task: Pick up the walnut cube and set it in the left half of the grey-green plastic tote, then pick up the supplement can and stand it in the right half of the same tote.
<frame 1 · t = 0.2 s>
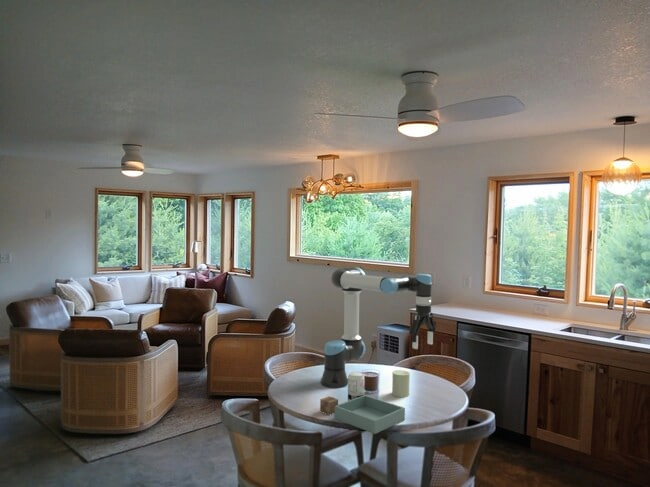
hand: (422, 346, 243), 28 cm above the table, fingers open, 13 cm apart
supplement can: (355, 404, 238), on the table
walnut cube: (329, 411, 227), on the table
tote: (369, 419, 219), on the table
can: (400, 394, 253), on the table
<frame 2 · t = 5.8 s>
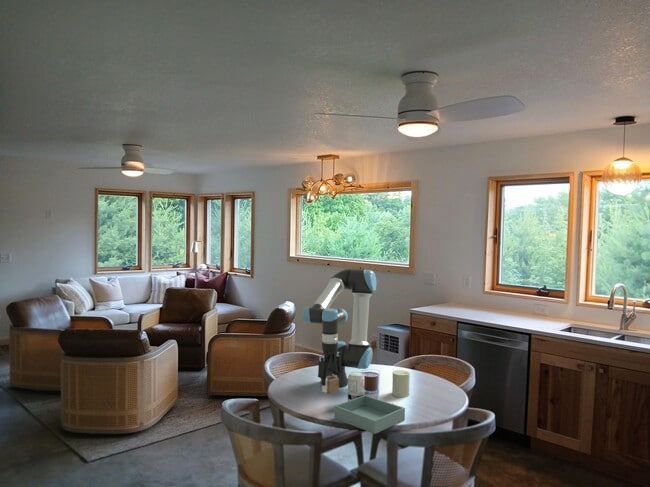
hand: (329, 389, 227), 10 cm above the table, fingers closed on walnut cube, 6 cm apart
walnut cube: (329, 390, 227), point 10 cm above the table, touching gripper
everything else where it was.
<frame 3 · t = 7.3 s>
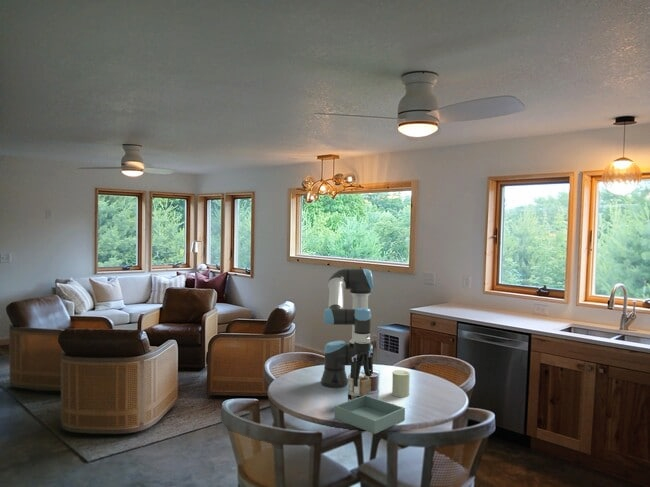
hand: (361, 391, 222), 12 cm above the table, fingers closed on walnut cube, 6 cm apart
walnut cube: (361, 392, 222), point 11 cm above the table, touching gripper
everything else where it was.
when the fingers open (1 cm above the table, at t = 9.4 s): walnut cube stays where it is, resting on tote.
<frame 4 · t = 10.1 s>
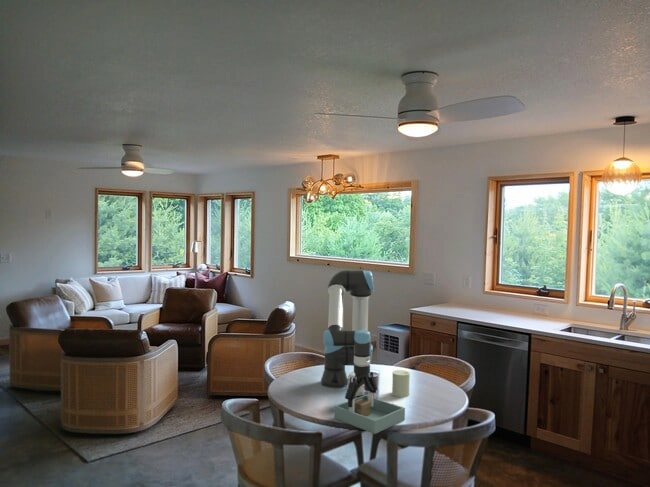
hand: (361, 409, 222), 3 cm above the table, fingers open, 13 cm apart
walnut cube: (361, 414, 222), point 1 cm above the table, touching tote
everything else where it was.
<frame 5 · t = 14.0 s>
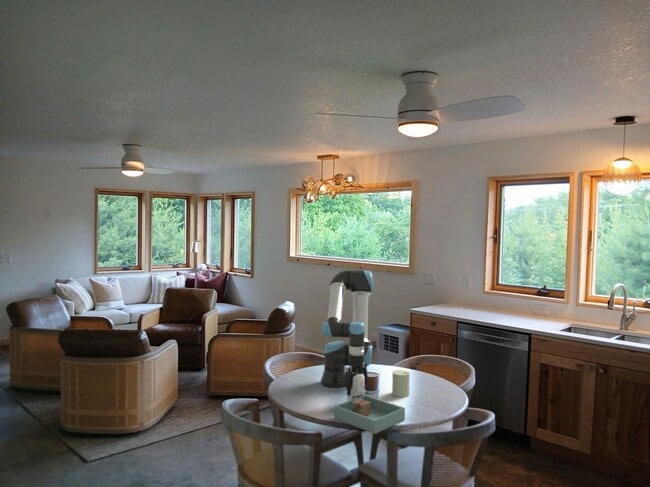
hand: (355, 399, 238), 2 cm above the table, fingers closed on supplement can, 8 cm apart
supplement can: (355, 404, 238), on the table, touching gripper
everything else where it was.
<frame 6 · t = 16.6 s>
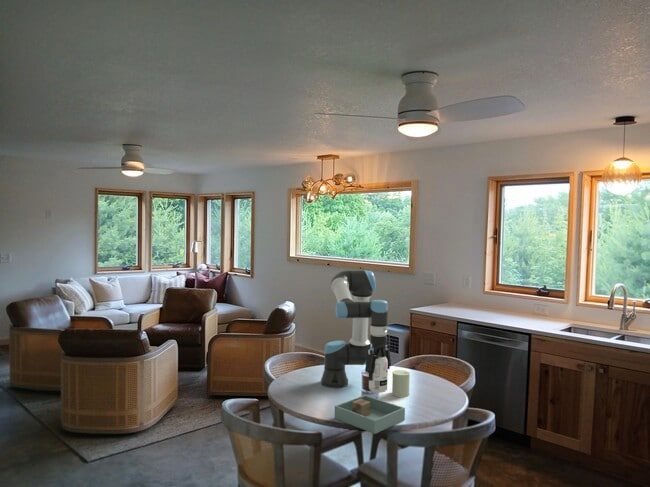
hand: (378, 385, 215), 17 cm above the table, fingers closed on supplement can, 8 cm apart
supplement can: (378, 390, 215), point 14 cm above the table, touching gripper
everything else where it was.
when the fingers open (5 cm above the table, at t = 19.3 s): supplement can drops 2 cm, resting on tote.
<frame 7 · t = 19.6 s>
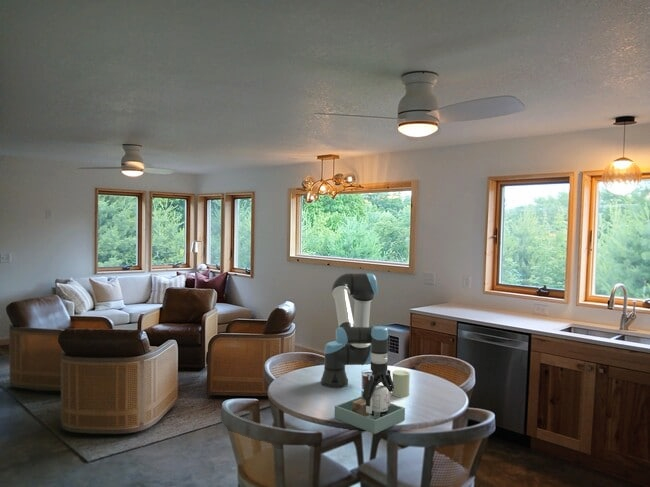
hand: (378, 409, 215), 6 cm above the table, fingers open, 12 cm apart
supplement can: (378, 421, 215), resting on tote
everything else where it was.
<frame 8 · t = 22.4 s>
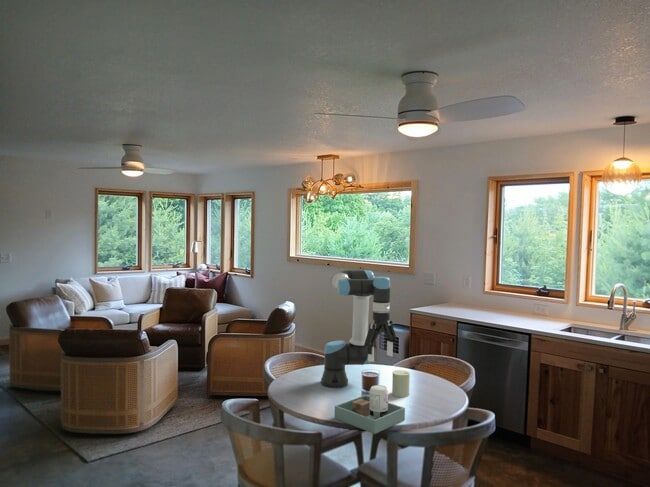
hand: (380, 358, 215), 29 cm above the table, fingers open, 13 cm apart
nothing on the table moved.
at the end: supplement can inside the target area on the tote (4.9 cm from its centre), point 0.4 cm above the tote's base; walnut cube inside the target area on the tote (5.0 cm from its centre), point 0.6 cm above the tote's base; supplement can tilted 0° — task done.
